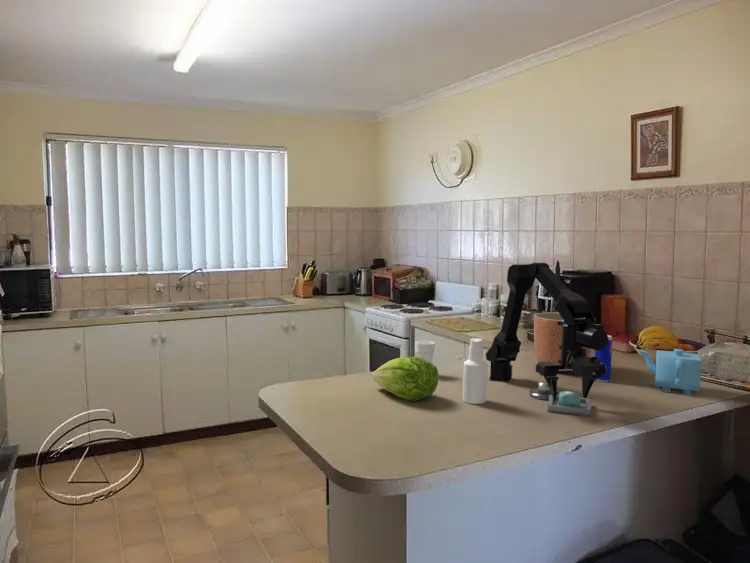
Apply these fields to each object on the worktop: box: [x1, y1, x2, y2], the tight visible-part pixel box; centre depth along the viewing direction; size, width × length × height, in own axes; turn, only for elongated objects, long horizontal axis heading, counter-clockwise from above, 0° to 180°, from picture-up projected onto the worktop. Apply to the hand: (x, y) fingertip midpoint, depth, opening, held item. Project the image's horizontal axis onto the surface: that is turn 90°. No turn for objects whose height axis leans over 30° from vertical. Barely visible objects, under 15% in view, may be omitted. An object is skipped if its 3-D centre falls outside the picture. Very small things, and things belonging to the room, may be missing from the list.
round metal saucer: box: [528, 380, 560, 401], centre depth 176 cm, size 9×9×4 cm
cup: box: [414, 340, 436, 364], centre depth 199 cm, size 7×7×11 cm
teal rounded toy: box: [558, 390, 581, 408], centre depth 163 cm, size 7×6×4 cm
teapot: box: [637, 348, 703, 395], centre depth 186 cm, size 18×16×13 cm
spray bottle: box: [462, 337, 489, 405], centre depth 169 cm, size 7×7×18 cm
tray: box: [547, 395, 592, 418], centre depth 164 cm, size 11×11×2 cm
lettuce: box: [372, 356, 439, 402], centre depth 174 cm, size 13×22×14 cm
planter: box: [533, 311, 593, 374], centre depth 209 cm, size 21×21×19 cm
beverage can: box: [594, 334, 613, 383], centre depth 195 cm, size 5×5×15 cm
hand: (569, 398), depth 164 cm, fingers open, 9 cm apart
